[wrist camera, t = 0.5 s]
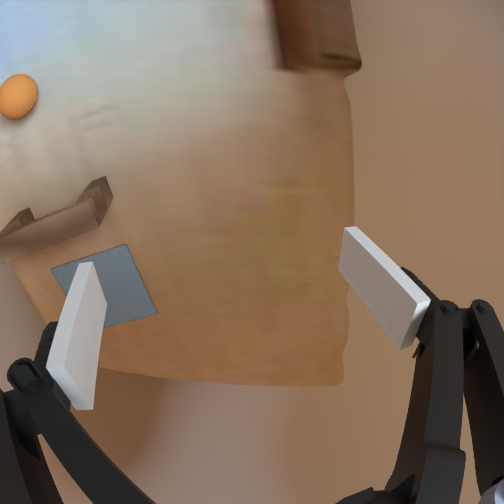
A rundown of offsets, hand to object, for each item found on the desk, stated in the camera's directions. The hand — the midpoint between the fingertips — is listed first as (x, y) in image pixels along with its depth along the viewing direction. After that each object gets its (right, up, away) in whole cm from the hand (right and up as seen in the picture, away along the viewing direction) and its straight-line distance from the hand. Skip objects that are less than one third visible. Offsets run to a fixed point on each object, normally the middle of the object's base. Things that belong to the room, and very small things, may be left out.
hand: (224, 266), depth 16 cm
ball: (-26, +19, +9) cm, 34 cm away
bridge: (-24, +7, +20) cm, 32 cm away
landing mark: (-21, -5, +28) cm, 36 cm away
